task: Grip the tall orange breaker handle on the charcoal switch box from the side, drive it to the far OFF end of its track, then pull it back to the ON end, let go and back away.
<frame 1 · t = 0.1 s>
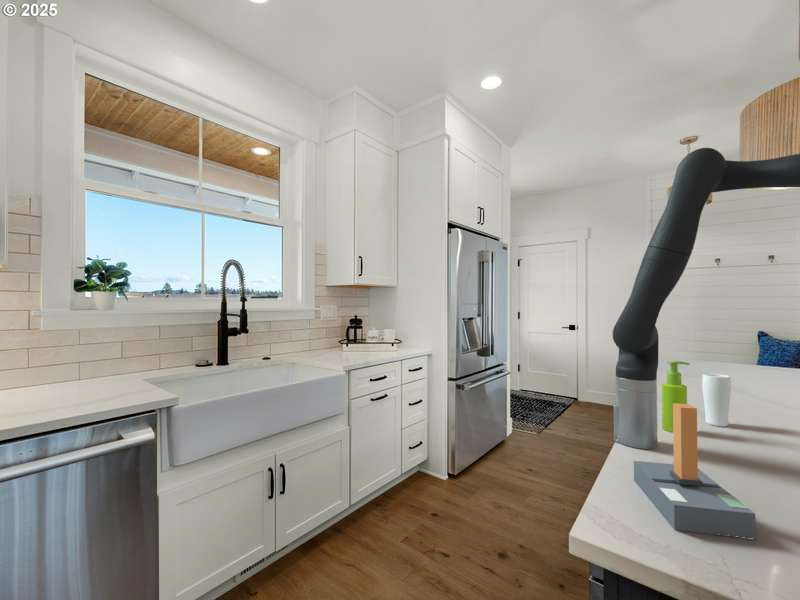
drinking glass: (716, 425, 116), on the table
soap dispenser: (676, 430, 110), on the table
breaker handle: (685, 443, 69), point 11 cm above the table, slide at 0.0 cm
switch box: (685, 505, 69), on the table
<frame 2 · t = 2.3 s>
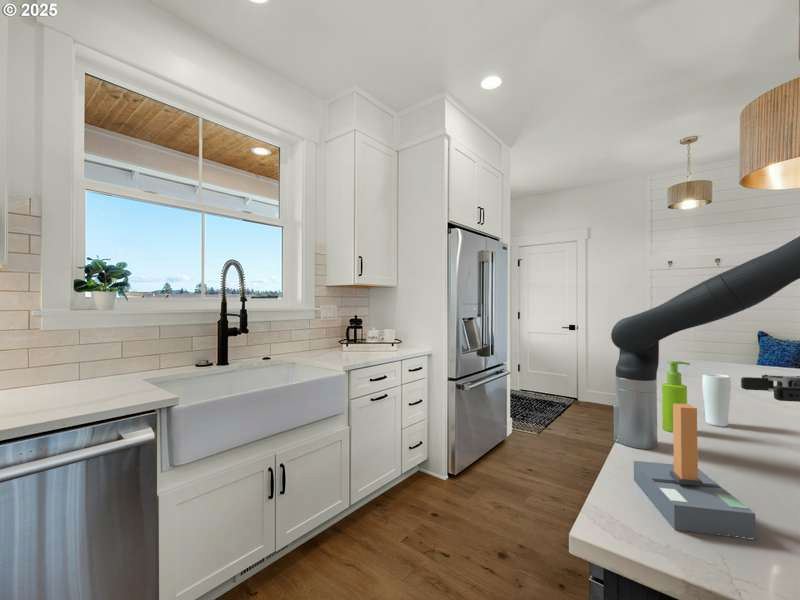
hand: (757, 388, 66), 22 cm above the table, tool horizontal, fingers open, 8 cm apart
nothing on the table moved.
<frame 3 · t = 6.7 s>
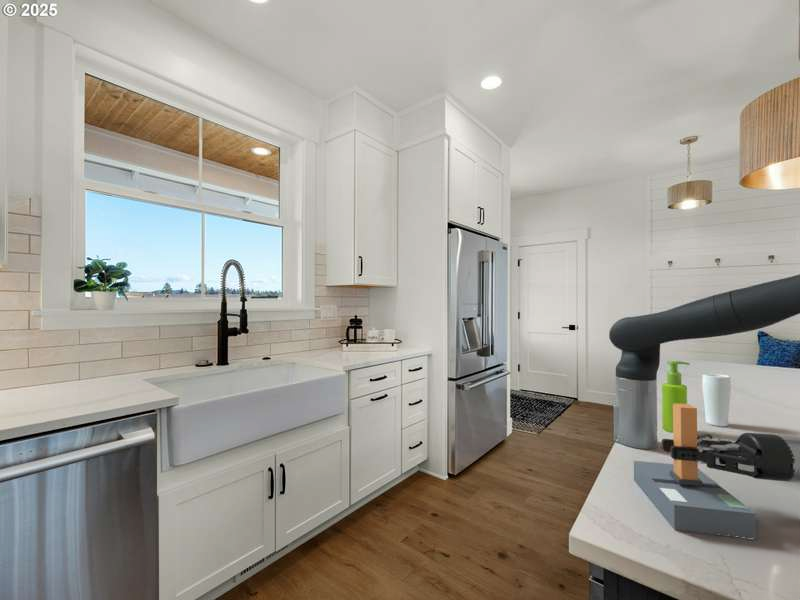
hand: (667, 448, 69), 10 cm above the table, tool horizontal, fingers closed on breaker handle, 3 cm apart
breaker handle: (685, 443, 69), point 11 cm above the table, slide at 0.0 cm, touching gripper
everything else where it was.
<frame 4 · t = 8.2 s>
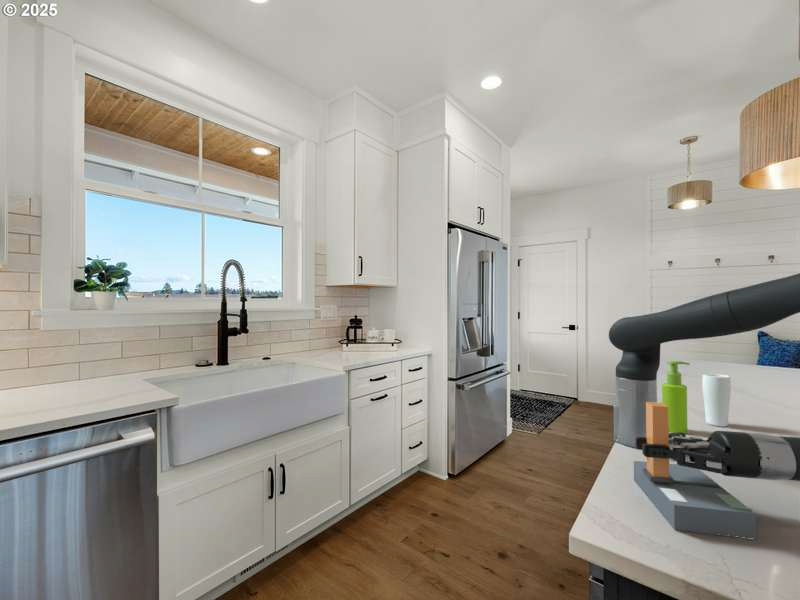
hand: (640, 446, 70), 10 cm above the table, tool horizontal, fingers closed on breaker handle, 3 cm apart
breaker handle: (657, 441, 70), point 11 cm above the table, slide at 4.5 cm, touching gripper
everything else where it was.
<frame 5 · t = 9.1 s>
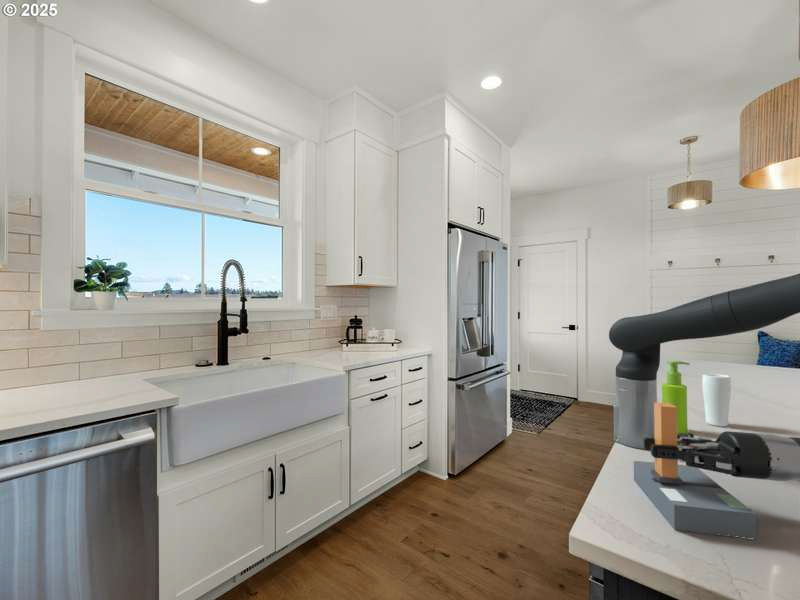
hand: (648, 447, 70), 10 cm above the table, tool horizontal, fingers closed on breaker handle, 3 cm apart
breaker handle: (665, 441, 70), point 11 cm above the table, slide at 3.1 cm, touching gripper
everything else where it was.
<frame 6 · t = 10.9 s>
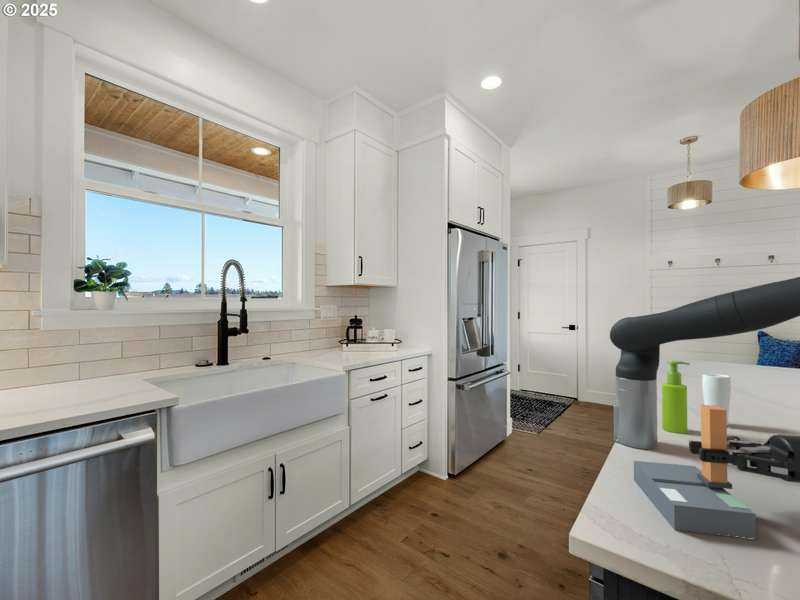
hand: (695, 450, 68), 10 cm above the table, tool horizontal, fingers closed on breaker handle, 3 cm apart
breaker handle: (713, 445, 68), point 11 cm above the table, slide at -4.5 cm, touching gripper
everything else where it was.
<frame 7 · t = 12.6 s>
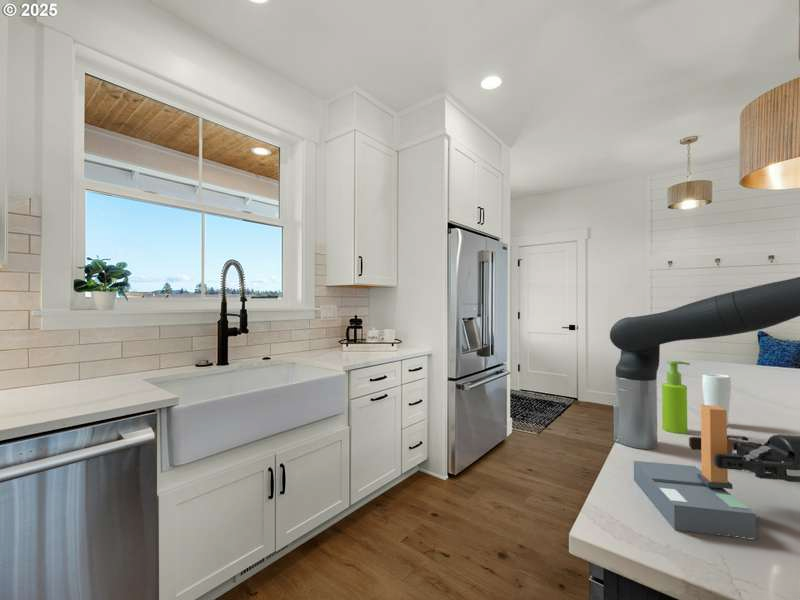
hand: (701, 451, 68), 10 cm above the table, tool horizontal, fingers open, 8 cm apart
breaker handle: (713, 445, 68), point 11 cm above the table, slide at -4.5 cm
everything else where it was.
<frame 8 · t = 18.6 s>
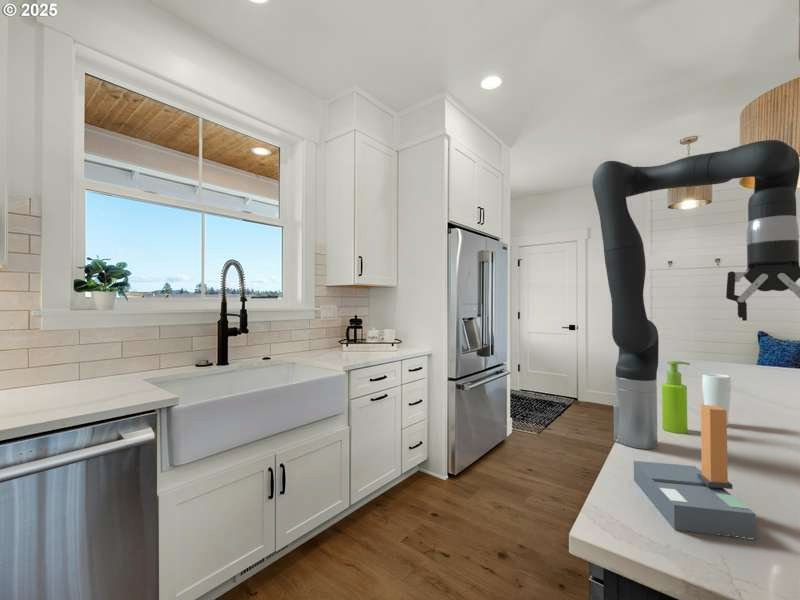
hand: (773, 321, 77), 33 cm above the table, tool pointing down, fingers open, 8 cm apart
nothing on the table moved.
at the end: breaker handle slide at -4.5 cm; the gripper is holding nothing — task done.
